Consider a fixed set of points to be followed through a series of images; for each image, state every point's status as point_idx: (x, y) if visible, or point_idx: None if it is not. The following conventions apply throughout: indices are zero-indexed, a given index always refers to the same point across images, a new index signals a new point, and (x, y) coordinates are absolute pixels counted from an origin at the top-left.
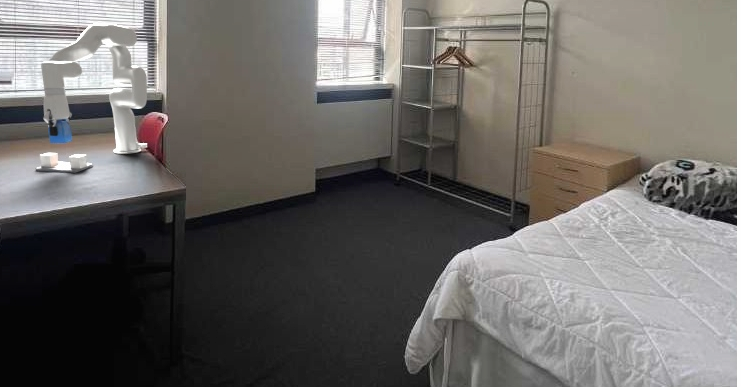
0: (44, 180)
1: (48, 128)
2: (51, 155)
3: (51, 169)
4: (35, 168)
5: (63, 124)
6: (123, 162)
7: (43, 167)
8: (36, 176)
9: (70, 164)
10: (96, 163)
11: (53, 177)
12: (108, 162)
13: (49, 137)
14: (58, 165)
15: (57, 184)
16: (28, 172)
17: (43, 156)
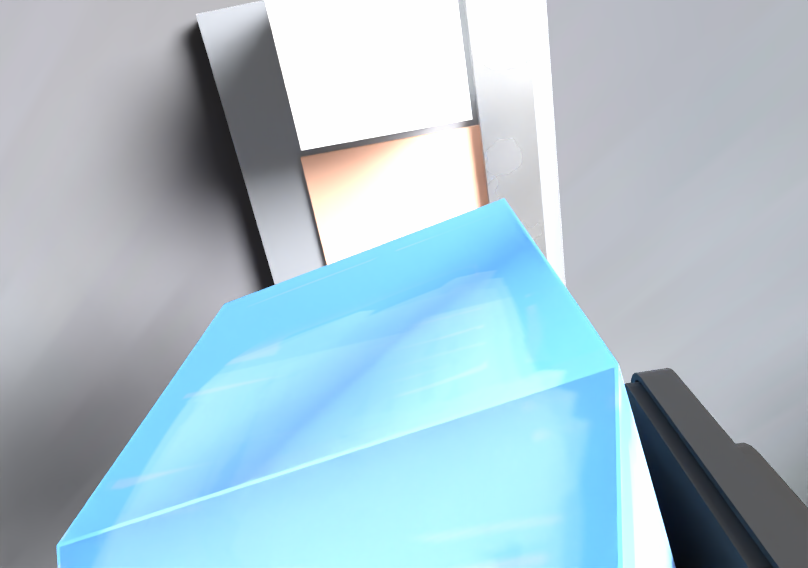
0: (17, 412)
1: (64, 553)
2: (344, 140)
3: (255, 215)
4: (196, 15)
5: None
6: (795, 472)
7: (267, 71)
8: (53, 251)
9: None
10: (709, 311)
11: (117, 396)
12: (774, 372)
13: (185, 365)
14: (397, 161)
15: (11, 556)
16: (104, 24)
17: (280, 46)
